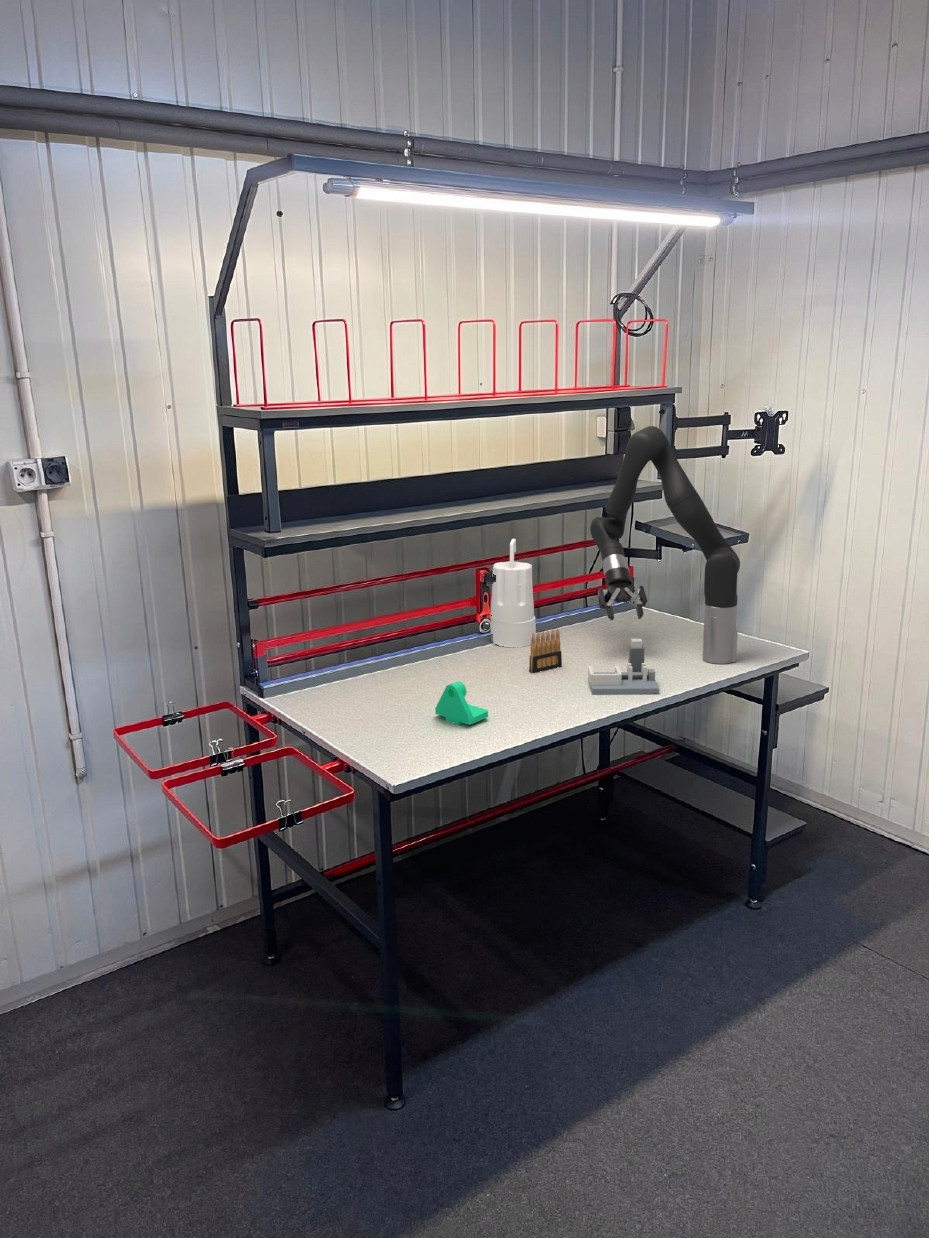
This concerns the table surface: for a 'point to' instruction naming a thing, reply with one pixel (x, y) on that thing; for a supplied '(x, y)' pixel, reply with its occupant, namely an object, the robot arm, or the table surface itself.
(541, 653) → the ammunition clip
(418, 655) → the table surface
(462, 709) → the camera mount
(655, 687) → the board
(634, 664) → the block
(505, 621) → the white tapered cylinder
